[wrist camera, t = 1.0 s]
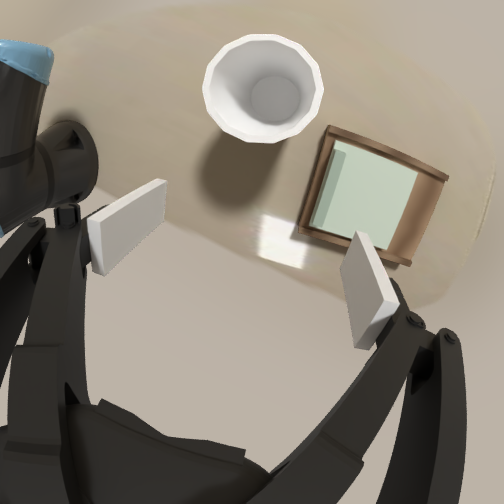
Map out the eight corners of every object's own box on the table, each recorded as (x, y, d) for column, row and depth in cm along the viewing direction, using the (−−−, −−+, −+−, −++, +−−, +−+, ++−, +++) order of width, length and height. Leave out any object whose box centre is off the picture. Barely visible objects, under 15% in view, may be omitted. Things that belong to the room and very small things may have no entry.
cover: (309, 223, 34) (309, 232, 31) (335, 139, 28) (338, 141, 26) (385, 247, 33) (390, 257, 31) (415, 171, 28) (424, 176, 25)
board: (298, 224, 36) (298, 232, 34) (328, 124, 30) (330, 125, 27) (404, 258, 36) (409, 267, 33) (440, 171, 29) (449, 176, 27)
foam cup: (225, 114, 31) (184, 113, 20) (257, 53, 26) (233, 19, 15) (292, 147, 32) (288, 164, 20) (327, 86, 27) (344, 67, 16)
